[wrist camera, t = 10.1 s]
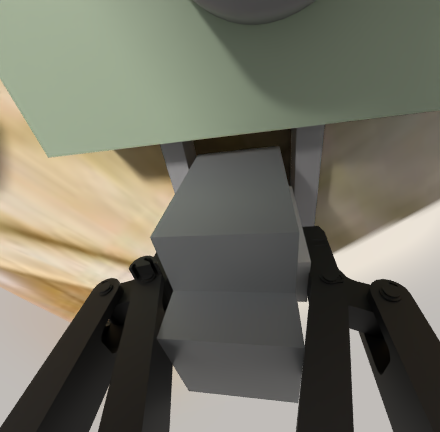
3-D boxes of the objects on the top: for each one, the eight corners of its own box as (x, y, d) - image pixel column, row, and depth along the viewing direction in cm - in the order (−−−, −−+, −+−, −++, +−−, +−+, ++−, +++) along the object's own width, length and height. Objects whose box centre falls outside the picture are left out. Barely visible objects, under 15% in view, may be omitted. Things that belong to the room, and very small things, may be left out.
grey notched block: (218, 246, 19) (188, 390, 11) (198, 154, 14) (122, 284, 6) (279, 245, 18) (298, 402, 10) (279, 145, 13) (312, 286, 5)
